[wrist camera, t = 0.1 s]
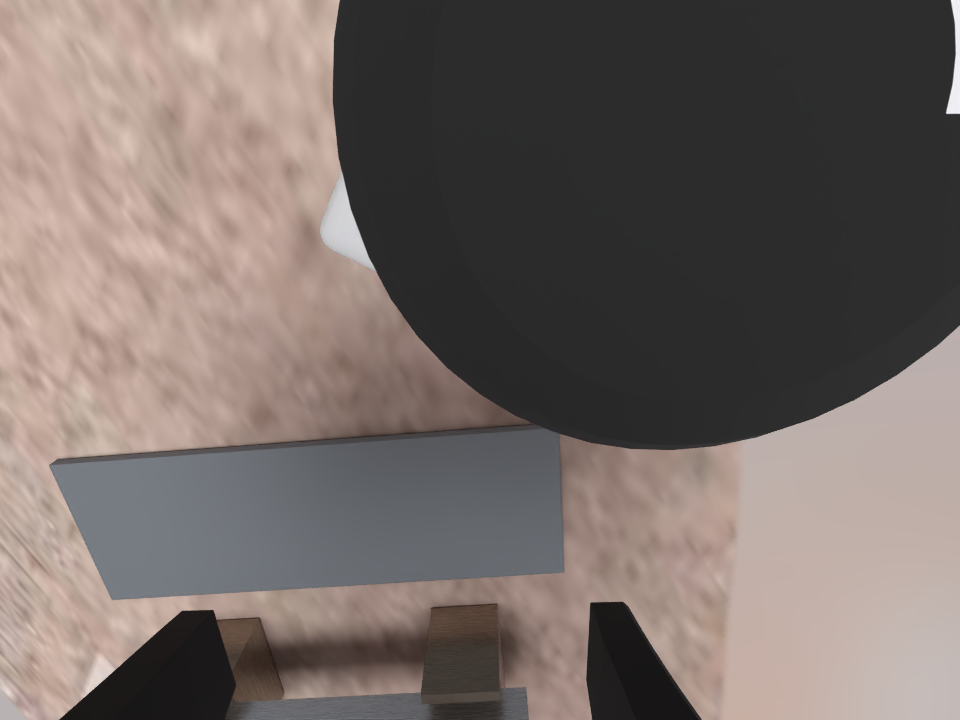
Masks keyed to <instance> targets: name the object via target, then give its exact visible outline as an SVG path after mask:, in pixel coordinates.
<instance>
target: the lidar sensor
mask: <svg viewBox="0 0 960 720" xmlns="http://www.w3.org/2000/svg"><path fill="white" fill-rule="evenodd" d="M333 107H334V117H335V127H336V136H337V146H338V155H339V161H340V165H341V169H342V171H341V173H340V176H339V178H338V181H337V184H336V186H335V189H334V191H333V194H332V196H331V199H330V202H329V204H328V207H327V209H326V212H325V214H324V217H323V219H322V222H321V229H320V235H321V237H322V240H323V242H324V244H325V245H327V246H328V247H329V248H330V249H331V250H333V251H335V252H337V253H339V254H341V255H343V256H345V257H347V258H349V259H351V260H353V261H355V262H357V263H359V264H361V265H363V266H365V267H367V268H369V269H371V270H373V271H375V272H377V274H378V276H379V277H380V279H381V281H382V283H383V285H384V287H385V289H386V291H387V292H388V294H389V296H390V298H391V300H392V301H393V303H394V304H395V305H396V307H397V308H398V310H399V311H400V312H401V314H402V315H403V317H404V318H405V319H406V321H407V322H408V324H409V325H410V326H411V328H412V329H413V330H414V332H415V333H416V335H417V336H418V337H419V338H420V339H421V340H422V341H423V342H424V343H425V345H426V346H427V347H428V348H429V349H430V350H431V351H432V352H433V353H434V354H435V355H436V356H437V357H438V358H439V359H440V360H441V361H442V363H443V364H444V365H445V366H446V367H447V368H448V369H450V370H451V371H452V372H453V373H455V374H456V375H457V376H458V377H459V378H461V379H462V380H463V381H464V382H466V383H467V384H468V385H469V386H471V387H472V388H473V389H474V390H476V391H477V392H478V393H479V394H481V395H482V396H484V397H486V398H487V399H489V400H491V401H492V402H494V403H496V404H497V405H499V406H501V407H502V408H504V409H506V410H507V411H509V412H510V413H512V414H514V415H515V416H518V417H520V418H522V419H525V420H527V421H529V422H532V423H534V424H536V425H538V426H541V427H543V428H545V429H548V430H550V431H552V432H556V433H559V434H563V435H566V436H570V437H573V438H577V439H580V440H584V441H587V442H591V443H597V444H603V445H610V446H616V447H623V448H629V449H656V450H677V449H688V448H699V447H710V446H717V445H722V444H727V443H731V442H736V441H741V440H746V439H750V438H755V437H759V436H762V435H764V434H768V433H771V432H774V431H777V430H780V429H783V428H786V427H789V426H792V425H795V424H798V423H801V422H804V421H807V420H810V419H813V418H815V417H818V416H820V415H822V414H824V413H826V412H829V411H831V410H833V409H835V408H837V407H839V406H842V405H844V404H846V403H848V402H851V401H853V400H855V399H857V398H858V397H860V396H862V395H864V394H865V393H867V392H869V391H870V390H872V389H874V388H875V387H877V386H879V385H881V384H882V383H884V382H886V381H888V380H889V379H891V378H892V377H894V376H896V375H897V374H899V373H900V372H902V371H903V370H904V369H906V368H907V367H908V366H910V365H911V364H912V363H914V362H915V361H917V360H918V359H919V358H920V357H922V356H923V355H925V354H926V353H928V352H929V351H930V350H932V349H933V348H934V347H936V346H937V345H938V344H939V343H941V342H942V341H943V340H944V339H945V338H946V337H947V336H948V335H949V334H951V333H952V332H953V331H954V330H955V329H956V328H957V327H958V326H959V325H960V0H340V2H339V9H338V16H337V23H336V30H335V37H334V68H333Z"/></svg>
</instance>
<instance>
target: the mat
mask: <svg viewBox="0 0 960 720" xmlns="http://www.w3.org/2000/svg"><path fill="white" fill-rule="evenodd" d="M49 467H50V469H51V471H52V473H53V475H54V477H55V479H56V482H57V484H58V486H59V488H60V490H61V492H62V494H63V497H64V499H65V501H66V503H67V505H68V507H69V509H70V512H71V514H72V516H73V518H74V520H75V522H76V524H77V526H78V529H79V531H80V533H81V535H82V537H83V539H84V541H85V544H86V546H87V548H88V550H89V552H90V554H91V556H92V559H93V561H94V563H95V565H96V567H97V569H98V571H99V573H100V576H101V578H102V580H103V582H104V584H105V586H106V588H107V591H108V593H109V595H110V597H111V599H112V600H121V599H137V598H154V597H170V596H187V595H203V594H219V593H236V592H252V591H269V590H285V589H302V588H318V587H335V586H351V585H367V584H384V583H400V582H417V581H433V580H450V579H466V578H483V577H499V576H515V575H532V574H548V573H564V553H563V526H562V499H561V472H560V445H559V433H556V432H552V431H550V430H548V429H545V428H543V427H541V426H538V425H536V424H535V425H522V426H508V427H494V428H481V429H467V430H454V431H440V432H427V433H413V434H399V435H386V436H372V437H359V438H345V439H332V440H318V441H305V442H291V443H277V444H264V445H250V446H237V447H223V448H210V449H196V450H182V451H169V452H155V453H142V454H128V455H115V456H101V457H87V458H74V459H60V460H56V461H54V462H53V463H52V464H50V465H49Z"/></svg>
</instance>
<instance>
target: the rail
mask: <svg viewBox="0 0 960 720" xmlns="http://www.w3.org/2000/svg"><path fill="white" fill-rule="evenodd" d="M500 693H501V701H482V702H462V703H442V704H422V700H421V693H404V694H384V695H365V696H345V697H326V698H306V699H287V700H267V701H247V702H230V705H229V708H228V711H227V714H226V717H225V720H529V716H528V704H527V691H526V687H521V688H502V689H500Z"/></svg>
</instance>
